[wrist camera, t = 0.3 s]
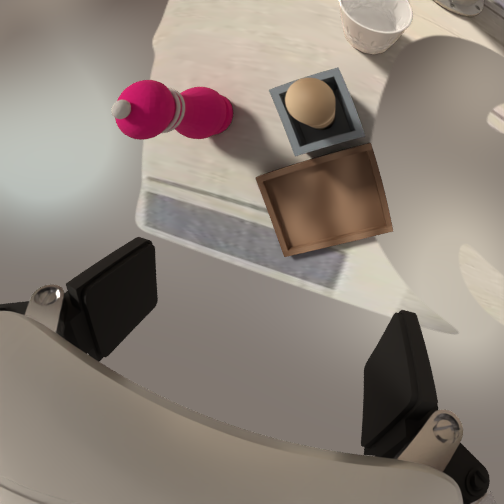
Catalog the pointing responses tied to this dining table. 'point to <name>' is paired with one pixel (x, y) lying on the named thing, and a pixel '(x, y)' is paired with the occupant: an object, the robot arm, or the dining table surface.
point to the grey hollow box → (314, 139)
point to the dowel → (311, 103)
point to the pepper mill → (171, 111)
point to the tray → (326, 200)
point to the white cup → (374, 23)
